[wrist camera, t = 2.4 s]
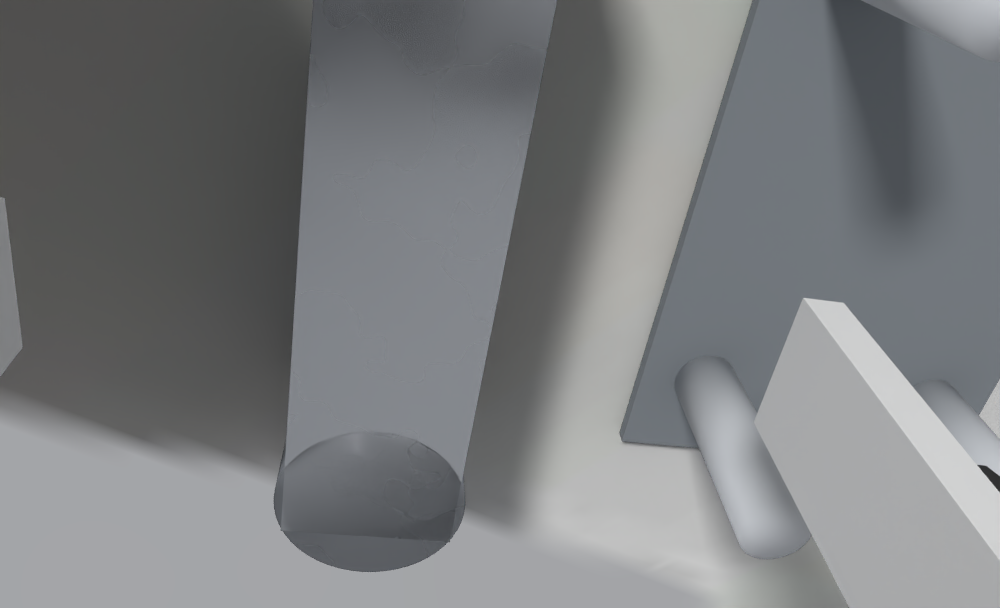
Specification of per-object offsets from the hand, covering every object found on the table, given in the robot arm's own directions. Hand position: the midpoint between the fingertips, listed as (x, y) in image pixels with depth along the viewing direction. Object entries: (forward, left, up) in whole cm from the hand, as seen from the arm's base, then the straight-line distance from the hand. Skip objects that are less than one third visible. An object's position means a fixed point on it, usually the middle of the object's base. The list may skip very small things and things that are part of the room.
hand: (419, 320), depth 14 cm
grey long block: (0, 0, -8) cm, 8 cm away
